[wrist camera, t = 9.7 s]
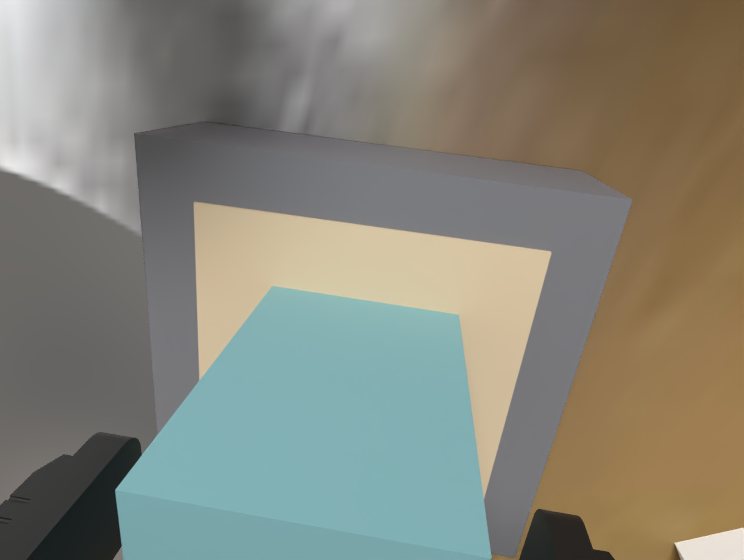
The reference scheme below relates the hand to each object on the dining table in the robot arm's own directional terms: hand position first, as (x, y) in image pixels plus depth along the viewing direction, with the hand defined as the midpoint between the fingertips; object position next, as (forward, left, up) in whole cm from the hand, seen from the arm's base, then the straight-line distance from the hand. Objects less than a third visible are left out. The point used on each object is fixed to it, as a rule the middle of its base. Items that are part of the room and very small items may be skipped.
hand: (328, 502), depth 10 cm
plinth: (0, 0, -9) cm, 9 cm away
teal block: (0, 0, -4) cm, 4 cm away
